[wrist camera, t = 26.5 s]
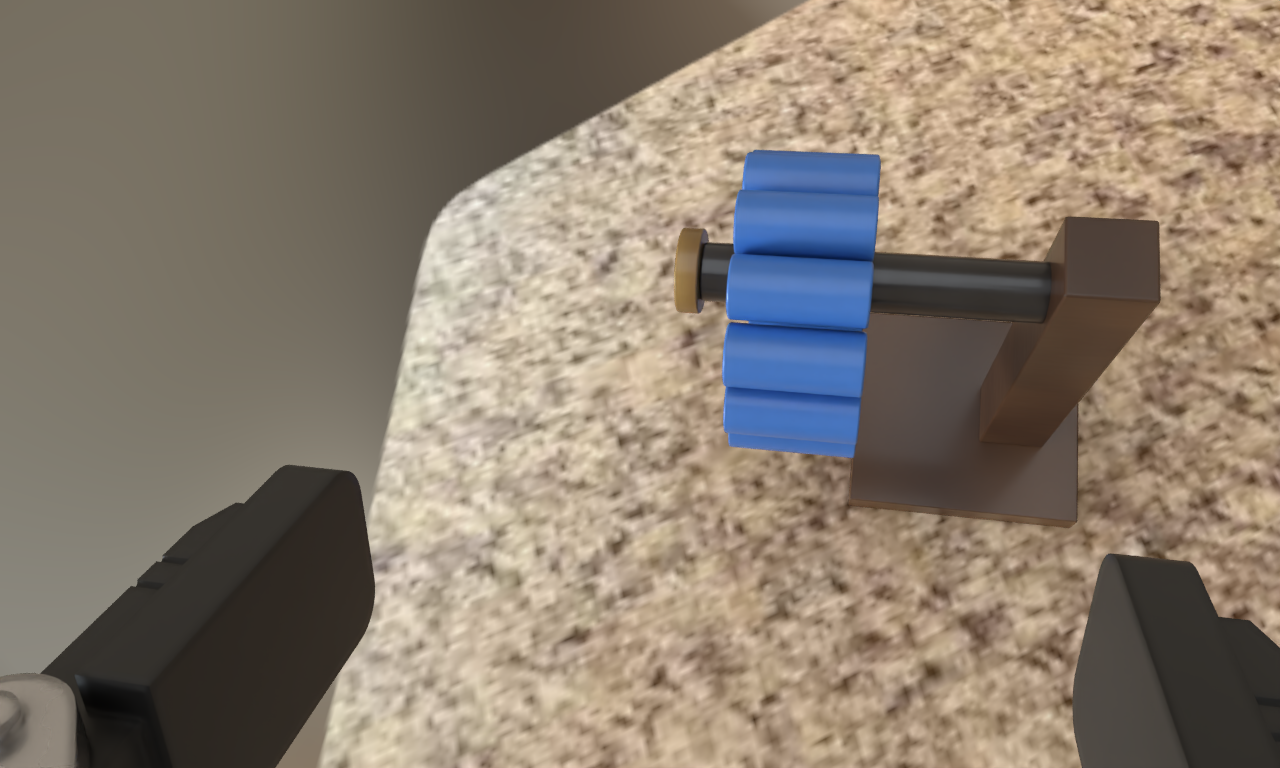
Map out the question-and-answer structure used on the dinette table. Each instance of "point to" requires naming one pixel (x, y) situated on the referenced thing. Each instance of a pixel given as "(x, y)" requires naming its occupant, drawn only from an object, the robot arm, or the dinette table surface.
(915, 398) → the tape stand
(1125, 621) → the robot arm
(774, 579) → the dinette table surface
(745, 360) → the blue ribbed cylinder bundle
